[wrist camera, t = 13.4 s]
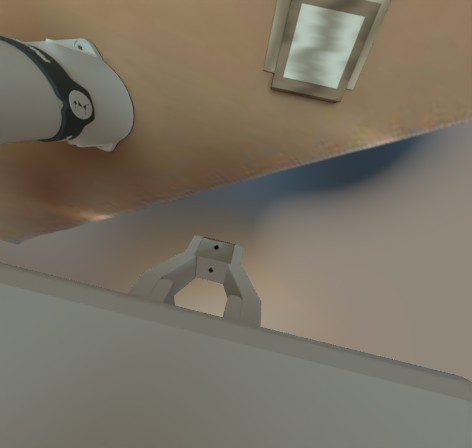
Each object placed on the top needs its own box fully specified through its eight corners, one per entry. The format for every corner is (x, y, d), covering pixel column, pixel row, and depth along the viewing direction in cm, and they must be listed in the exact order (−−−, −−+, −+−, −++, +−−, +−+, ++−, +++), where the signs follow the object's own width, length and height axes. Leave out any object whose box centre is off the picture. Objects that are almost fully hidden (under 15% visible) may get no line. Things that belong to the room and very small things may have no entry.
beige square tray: (263, 70, 30) (263, 70, 30) (296, -94, 22) (297, -97, 21) (351, 90, 30) (352, 89, 30) (419, -67, 22) (421, -70, 21)
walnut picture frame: (271, 86, 29) (295, -16, 23) (270, 88, 31) (292, -4, 25) (341, 101, 29) (382, 3, 23) (335, 102, 31) (371, 13, 25)
